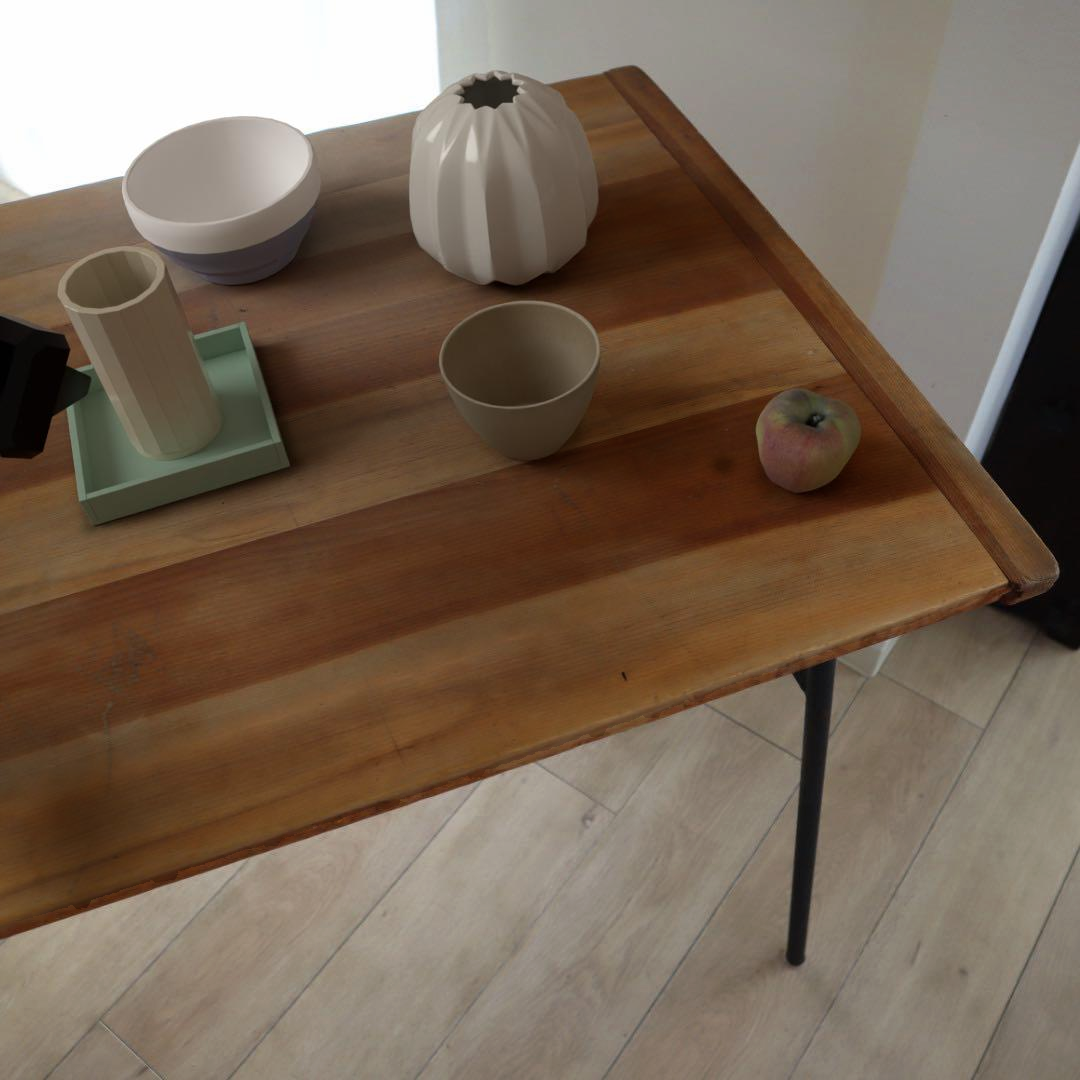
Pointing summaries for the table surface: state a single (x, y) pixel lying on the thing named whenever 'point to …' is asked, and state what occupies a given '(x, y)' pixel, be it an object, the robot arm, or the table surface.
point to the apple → (806, 439)
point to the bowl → (226, 196)
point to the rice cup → (142, 350)
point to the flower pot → (522, 375)
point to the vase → (501, 179)
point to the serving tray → (142, 483)
